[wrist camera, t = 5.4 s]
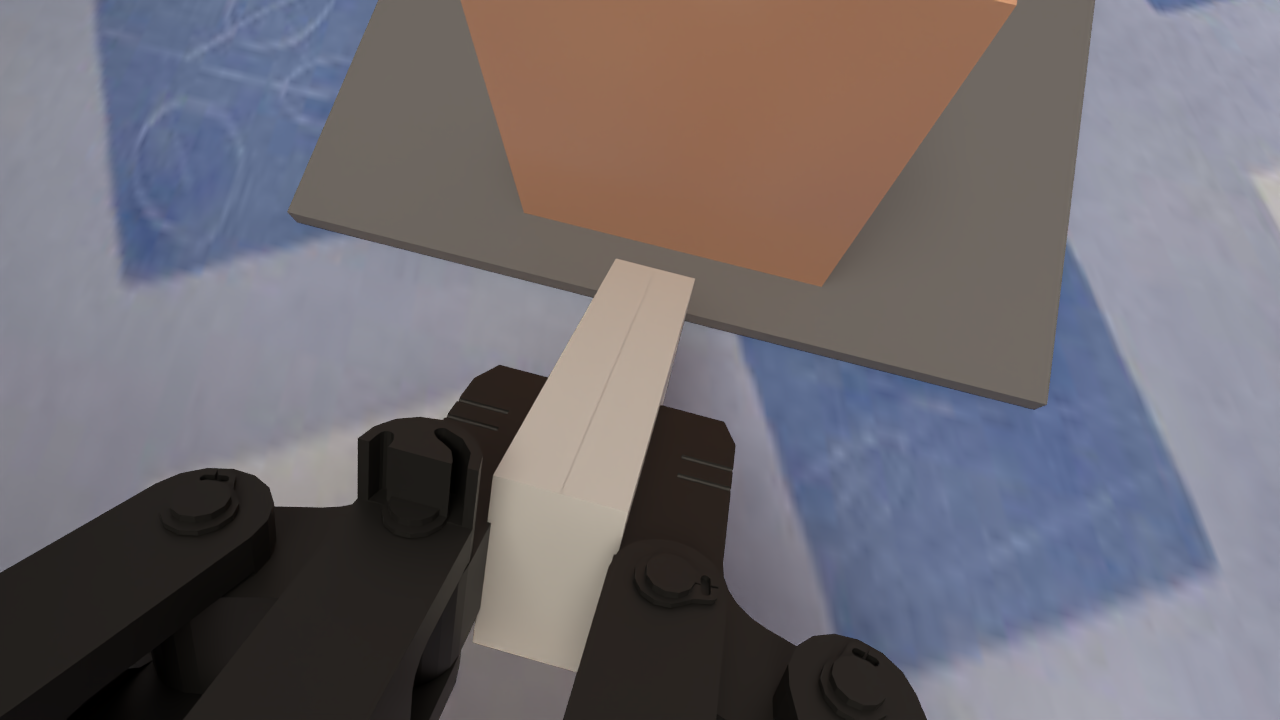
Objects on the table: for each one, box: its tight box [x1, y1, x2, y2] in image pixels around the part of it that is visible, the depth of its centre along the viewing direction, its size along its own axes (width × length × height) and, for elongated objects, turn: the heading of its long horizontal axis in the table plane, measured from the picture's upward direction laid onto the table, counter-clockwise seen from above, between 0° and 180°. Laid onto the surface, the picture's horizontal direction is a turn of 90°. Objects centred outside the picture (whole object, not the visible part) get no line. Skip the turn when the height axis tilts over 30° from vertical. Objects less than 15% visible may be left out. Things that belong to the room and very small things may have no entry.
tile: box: [460, 0, 1017, 287], centre depth 15 cm, size 2×8×10 cm, turn 75°
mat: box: [287, 0, 1095, 409], centre depth 21 cm, size 17×20×1 cm
